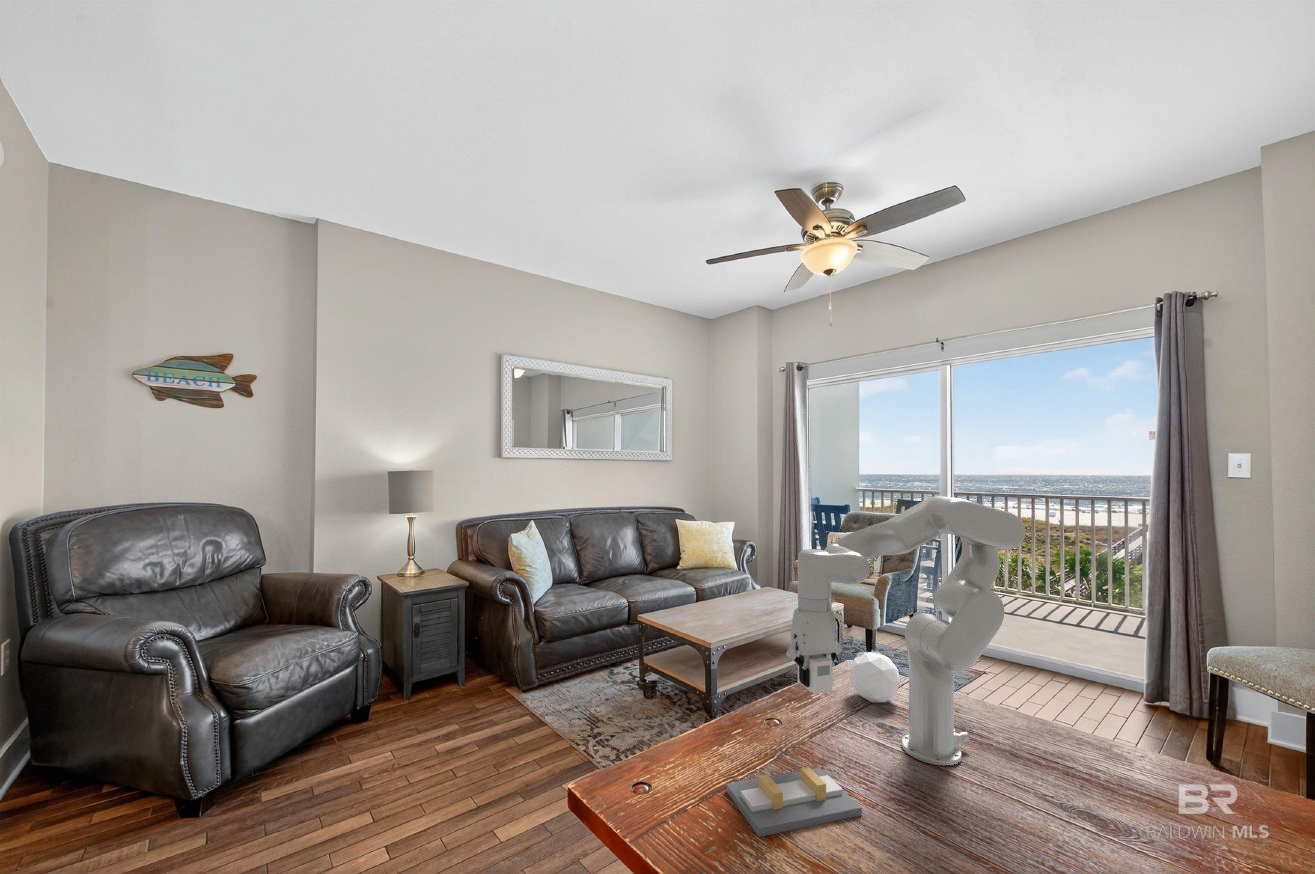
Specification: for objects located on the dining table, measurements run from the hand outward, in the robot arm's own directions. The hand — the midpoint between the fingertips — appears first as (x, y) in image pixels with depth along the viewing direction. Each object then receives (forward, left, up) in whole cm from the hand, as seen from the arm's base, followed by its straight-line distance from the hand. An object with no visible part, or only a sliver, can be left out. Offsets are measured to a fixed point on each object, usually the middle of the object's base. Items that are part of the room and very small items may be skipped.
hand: (814, 682), depth 126 cm
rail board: (+14, +14, -17) cm, 26 cm away
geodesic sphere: (-34, -21, -17) cm, 43 cm away
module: (0, 0, -1) cm, 1 cm away
